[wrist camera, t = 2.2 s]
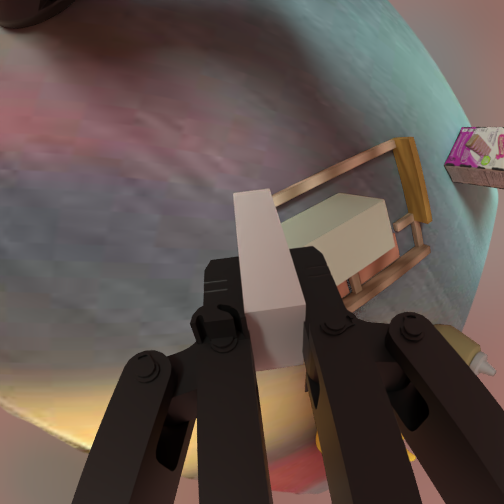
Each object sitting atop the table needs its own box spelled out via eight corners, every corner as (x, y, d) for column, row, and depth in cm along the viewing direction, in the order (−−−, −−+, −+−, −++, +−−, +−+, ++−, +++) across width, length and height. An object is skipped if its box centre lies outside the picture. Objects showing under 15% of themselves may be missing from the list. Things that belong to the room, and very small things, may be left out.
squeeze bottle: (435, 312, 55) (503, 348, 39) (446, 327, 58) (507, 360, 42) (413, 346, 55) (479, 388, 39) (426, 357, 58) (485, 396, 42)
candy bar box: (460, 125, 47) (531, 126, 32) (470, 144, 49) (537, 148, 34) (442, 164, 47) (520, 172, 32) (452, 183, 49) (526, 194, 34)
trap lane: (284, 343, 43) (297, 357, 39) (225, 218, 36) (236, 223, 32) (420, 248, 49) (437, 254, 45) (394, 137, 42) (413, 136, 38)
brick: (265, 282, 40) (299, 309, 32) (247, 240, 38) (279, 260, 29) (350, 232, 43) (395, 246, 34) (338, 192, 40) (384, 199, 32)
